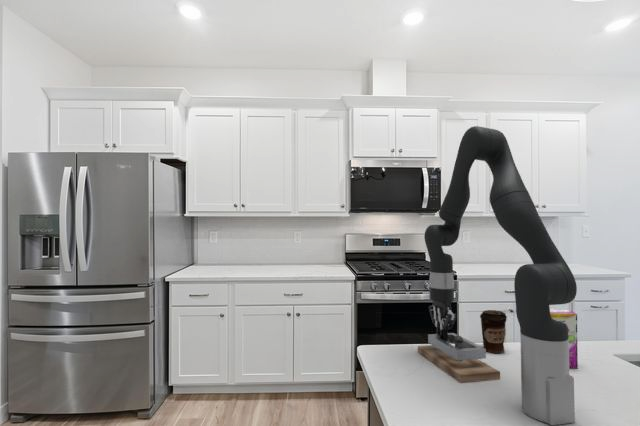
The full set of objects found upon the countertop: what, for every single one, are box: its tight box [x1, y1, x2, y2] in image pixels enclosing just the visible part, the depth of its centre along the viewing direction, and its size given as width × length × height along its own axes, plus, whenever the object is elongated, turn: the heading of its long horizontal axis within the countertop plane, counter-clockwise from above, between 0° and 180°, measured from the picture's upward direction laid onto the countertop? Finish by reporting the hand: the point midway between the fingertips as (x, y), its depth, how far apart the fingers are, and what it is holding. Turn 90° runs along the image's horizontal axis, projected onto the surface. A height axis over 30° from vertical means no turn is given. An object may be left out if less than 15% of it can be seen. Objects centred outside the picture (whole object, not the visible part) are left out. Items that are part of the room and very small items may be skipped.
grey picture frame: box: [427, 332, 487, 361], centre depth 108 cm, size 16×9×3 cm, turn 13°
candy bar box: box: [550, 308, 579, 369], centre depth 108 cm, size 11×5×16 cm, turn 84°
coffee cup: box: [479, 309, 508, 354], centre depth 121 cm, size 9×8×13 cm
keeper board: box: [417, 334, 501, 384], centre depth 108 cm, size 24×12×9 cm, turn 12°
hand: (442, 339), depth 115 cm, fingers closed on grey picture frame, 1 cm apart
